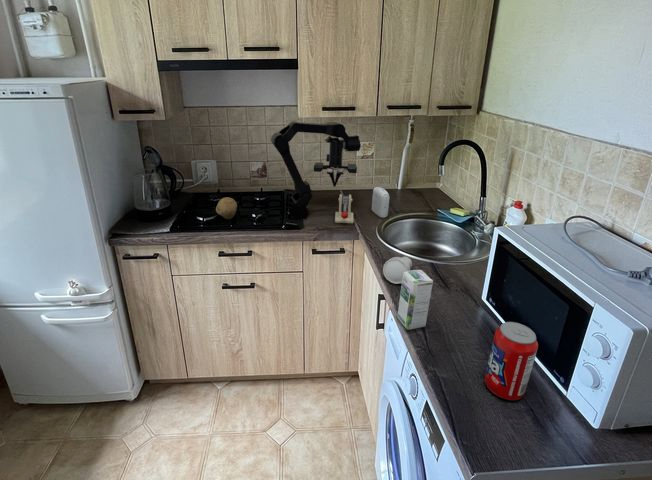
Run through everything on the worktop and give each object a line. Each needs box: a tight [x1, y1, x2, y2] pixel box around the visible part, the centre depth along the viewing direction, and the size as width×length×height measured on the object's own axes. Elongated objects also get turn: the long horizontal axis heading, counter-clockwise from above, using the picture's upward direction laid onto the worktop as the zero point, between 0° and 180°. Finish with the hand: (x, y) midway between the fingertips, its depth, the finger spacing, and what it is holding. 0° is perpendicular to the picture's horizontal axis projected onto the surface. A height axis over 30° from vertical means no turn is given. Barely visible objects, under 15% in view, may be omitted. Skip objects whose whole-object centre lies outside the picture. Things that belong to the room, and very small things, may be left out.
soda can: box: [484, 321, 539, 401], centre depth 80 cm, size 8×8×15 cm
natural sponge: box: [215, 196, 238, 220], centre depth 165 cm, size 9×9×10 cm
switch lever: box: [341, 195, 349, 219], centre depth 163 cm, size 12×3×3 cm, turn 174°
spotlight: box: [382, 256, 413, 285], centre depth 123 cm, size 8×11×8 cm
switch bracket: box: [334, 193, 354, 224], centre depth 167 cm, size 10×8×11 cm
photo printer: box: [371, 186, 390, 219], centre depth 173 cm, size 10×4×12 cm, turn 17°
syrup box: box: [396, 269, 434, 331], centre depth 100 cm, size 6×6×14 cm
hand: (334, 186), depth 170 cm, fingers closed
